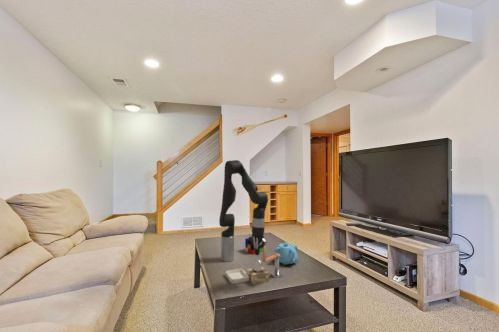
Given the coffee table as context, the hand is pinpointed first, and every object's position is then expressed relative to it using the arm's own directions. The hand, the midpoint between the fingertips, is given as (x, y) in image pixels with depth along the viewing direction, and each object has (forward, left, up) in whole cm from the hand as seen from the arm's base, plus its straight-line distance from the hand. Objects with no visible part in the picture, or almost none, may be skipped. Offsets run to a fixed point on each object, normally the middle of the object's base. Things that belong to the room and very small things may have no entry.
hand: (257, 254), depth 137 cm
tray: (-7, -10, -15) cm, 19 cm away
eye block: (-1, +1, -15) cm, 15 cm away
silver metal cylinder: (-1, +1, -15) cm, 15 cm away
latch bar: (+1, +9, -3) cm, 10 cm away
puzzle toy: (-47, +18, -15) cm, 53 cm away
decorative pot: (-18, +31, -15) cm, 39 cm away
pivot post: (-1, +14, -15) cm, 21 cm away
